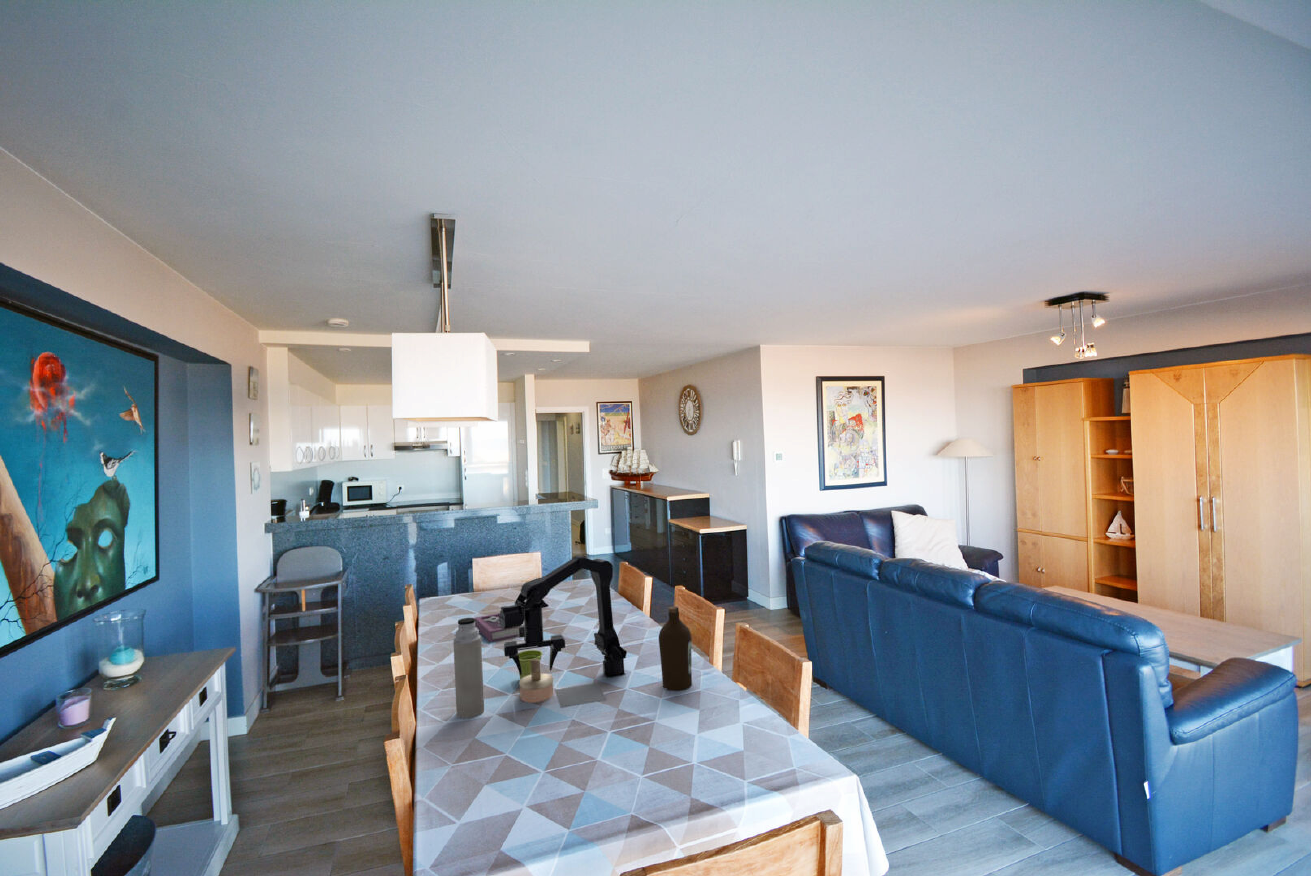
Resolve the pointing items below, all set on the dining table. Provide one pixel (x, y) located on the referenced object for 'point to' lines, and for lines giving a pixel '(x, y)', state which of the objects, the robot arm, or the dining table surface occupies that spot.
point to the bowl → (536, 694)
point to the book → (494, 628)
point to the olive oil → (675, 653)
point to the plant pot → (528, 661)
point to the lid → (536, 678)
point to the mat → (580, 695)
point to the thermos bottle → (468, 670)
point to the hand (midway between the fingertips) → (535, 672)
